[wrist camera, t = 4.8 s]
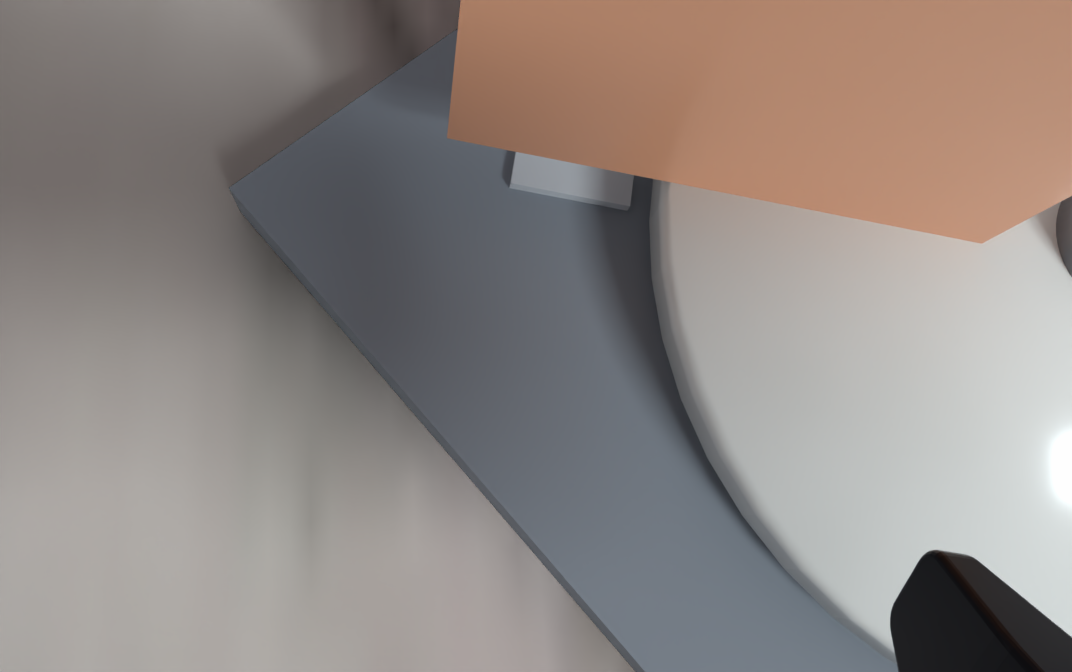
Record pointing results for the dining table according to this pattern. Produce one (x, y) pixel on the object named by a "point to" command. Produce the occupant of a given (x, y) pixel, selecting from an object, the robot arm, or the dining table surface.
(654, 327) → the board
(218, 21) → the dining table surface
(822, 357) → the dial
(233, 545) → the dining table surface
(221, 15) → the dining table surface
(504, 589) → the dining table surface
